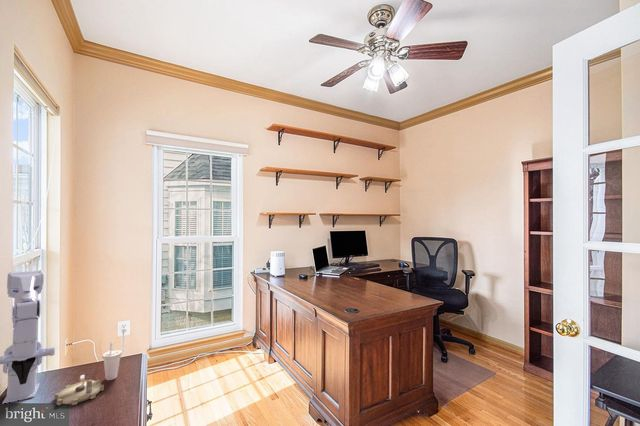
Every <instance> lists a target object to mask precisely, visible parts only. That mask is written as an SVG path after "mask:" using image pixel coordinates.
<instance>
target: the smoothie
mask: <svg viewBox="0 0 640 426" xmlns="http://www.w3.org/2000/svg"><path fill="white" fill-rule="evenodd" d="M122 354H123V351H122V350H120V349H113V342H110V343H109V350H108V351H106V352H104V353H103V354H102V359H103V367H104V375H105V381H112V380H115V379H116V378H117V377H118V373H119V367H120V361H121V356H122Z"/></svg>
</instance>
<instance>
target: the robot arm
mask: <svg viewBox="0 0 640 426" xmlns="http://www.w3.org/2000/svg"><path fill="white" fill-rule="evenodd" d="M44 279H45V278H44V270H42V269H40V270H29V271H17V272H16V271H15V272H9V273H7V280H6V281H7V283H6V289H7V295H8V297H9V298H13V300H14V305H12V310H11V311H12V312H11V321H12V329H13V330H12V344H11V345H10V346H9V347H8V346H7V348H6V349H5V351H4V352H3V353H4V354H3V356H2V355H1V356H0V365H2V373H4V374H7V390H6V391H7V393H6V396H5V398H4V400H3V401H2V405H5V404H4V403H6V404H9V402H10V403H15V402H18V400H19V401H23V400H27V399H30V398H31V399H32V398H34V397H35V396H36V394H37V392H38V389H39V387H40V383H37V374H38V373H37V371H38V367H39V366H40V365H41V364H42V362H43V357H48V356H50V357H51V356H54V355H55V353H56V348H55V347H50V348H42V343H41V342H40V341H38V334H39V333H38V331H39V318H41V317H40V316H41V312H42V311H41V309H42V307H41V306H42V305H41V301H40V299H39V295H40V294H41V293H42V290H43V286H44Z"/></svg>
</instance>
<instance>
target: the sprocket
mask: <svg viewBox="0 0 640 426" xmlns="http://www.w3.org/2000/svg"><path fill="white" fill-rule="evenodd" d="M104 389H105V385H104V384H102V380H101V379H96V380H93V379H84V380H83V381H82V382H80V381H79V382H76V383H73V384H67V385H65V386H64V388H63V389H62V390H60V391H59V392H55V394H54V400H56V405H58V406H61V405H72V406H75V405H77V404H78V403H81V402H84V401H85V402H86V401H88V400H89V399H91V400H93V399H94V398H96V395H97V394H99V393H100V392H101V391H104Z"/></svg>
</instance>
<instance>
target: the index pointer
mask: <svg viewBox="0 0 640 426" xmlns="http://www.w3.org/2000/svg"><path fill="white" fill-rule="evenodd" d="M85 376H86V375H85V374H82V375H80V376H79V377H80V378H79V382H82V381H83V380H86V379H85V378H86V377H85Z"/></svg>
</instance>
